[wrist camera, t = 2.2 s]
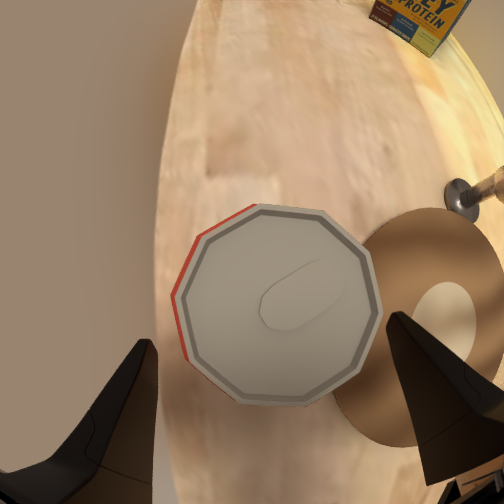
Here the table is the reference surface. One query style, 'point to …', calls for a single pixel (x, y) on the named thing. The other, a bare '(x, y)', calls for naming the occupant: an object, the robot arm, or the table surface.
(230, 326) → the beverage can
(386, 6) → the protein box
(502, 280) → the lazy susan
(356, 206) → the table surface
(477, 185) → the metal door stop
